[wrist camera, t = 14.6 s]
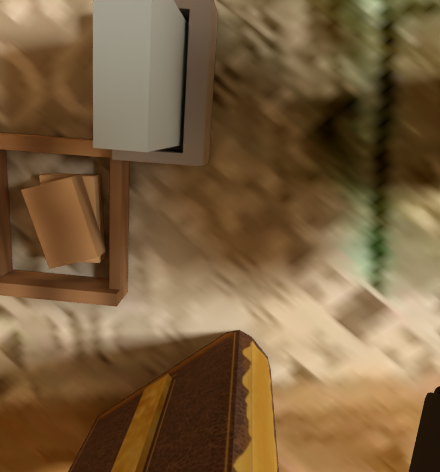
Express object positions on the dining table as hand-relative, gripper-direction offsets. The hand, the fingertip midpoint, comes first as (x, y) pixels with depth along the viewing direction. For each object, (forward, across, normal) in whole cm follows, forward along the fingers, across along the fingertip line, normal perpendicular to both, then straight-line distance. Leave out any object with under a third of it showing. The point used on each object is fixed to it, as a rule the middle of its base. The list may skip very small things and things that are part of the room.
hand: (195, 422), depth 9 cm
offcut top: (+29, +15, +3) cm, 33 cm away
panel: (+29, +6, -9) cm, 31 cm away
